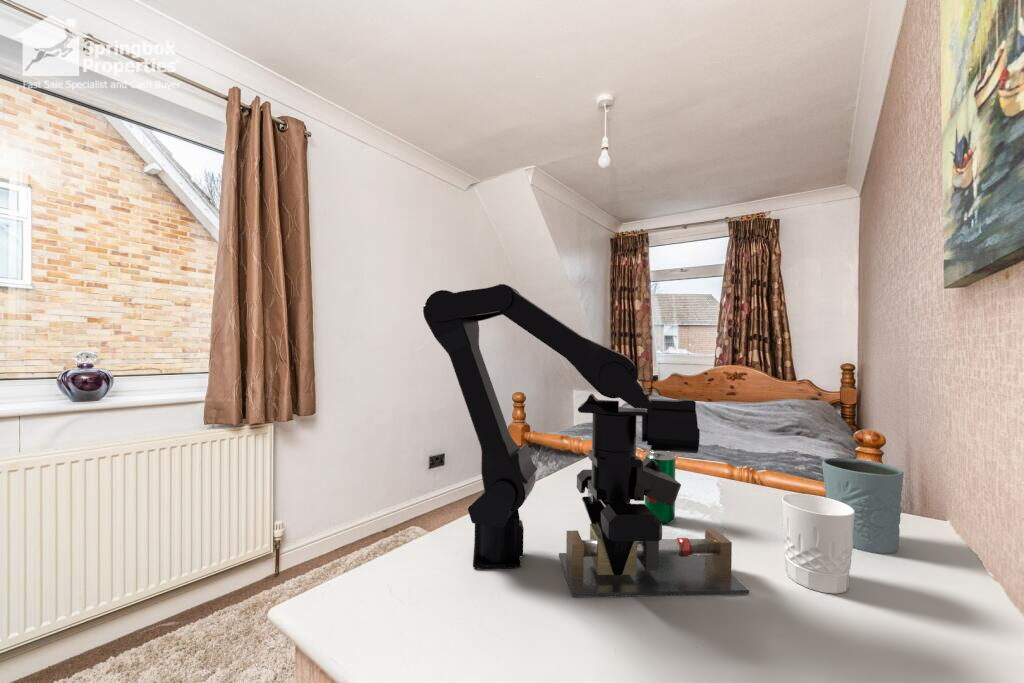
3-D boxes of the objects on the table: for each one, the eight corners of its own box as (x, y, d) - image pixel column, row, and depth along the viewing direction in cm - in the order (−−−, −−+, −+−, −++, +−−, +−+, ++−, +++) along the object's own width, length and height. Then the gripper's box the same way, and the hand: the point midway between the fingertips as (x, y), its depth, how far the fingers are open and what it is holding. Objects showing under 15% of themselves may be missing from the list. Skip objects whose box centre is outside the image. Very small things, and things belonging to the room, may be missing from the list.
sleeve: (598, 574, 55) (598, 538, 55) (589, 557, 60) (590, 523, 60) (636, 574, 55) (636, 538, 55) (625, 556, 60) (625, 523, 60)
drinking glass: (895, 563, 62) (896, 479, 62) (812, 537, 69) (813, 463, 70) (908, 543, 68) (909, 466, 68) (831, 522, 76) (832, 453, 76)
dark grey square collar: (646, 570, 56) (646, 539, 56) (635, 555, 60) (636, 526, 60) (658, 570, 56) (658, 539, 56) (647, 555, 60) (647, 526, 60)
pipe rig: (572, 597, 52) (572, 555, 52) (558, 556, 62) (559, 521, 62) (748, 594, 53) (749, 553, 53) (707, 554, 63) (708, 520, 63)
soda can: (677, 526, 73) (677, 455, 73) (646, 523, 74) (646, 453, 74) (672, 514, 78) (672, 448, 78) (643, 512, 79) (643, 446, 79)
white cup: (821, 601, 52) (822, 518, 52) (766, 568, 60) (767, 495, 60) (870, 592, 54) (870, 512, 54) (811, 561, 62) (812, 491, 62)
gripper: (708, 467, 49) (706, 606, 49) (647, 433, 67) (646, 533, 67) (610, 467, 48) (608, 607, 48) (576, 432, 67) (575, 533, 67)
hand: (612, 564), depth 57 cm, fingers closed on sleeve, 5 cm apart
